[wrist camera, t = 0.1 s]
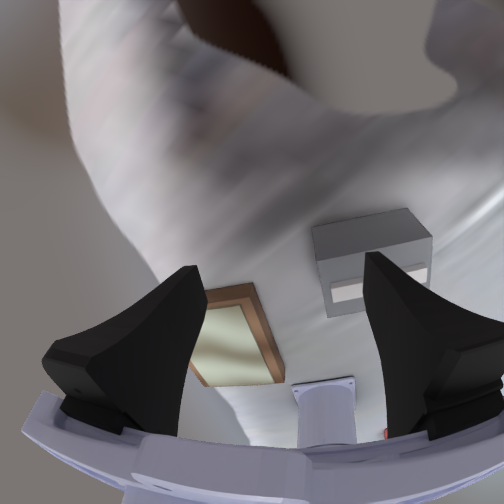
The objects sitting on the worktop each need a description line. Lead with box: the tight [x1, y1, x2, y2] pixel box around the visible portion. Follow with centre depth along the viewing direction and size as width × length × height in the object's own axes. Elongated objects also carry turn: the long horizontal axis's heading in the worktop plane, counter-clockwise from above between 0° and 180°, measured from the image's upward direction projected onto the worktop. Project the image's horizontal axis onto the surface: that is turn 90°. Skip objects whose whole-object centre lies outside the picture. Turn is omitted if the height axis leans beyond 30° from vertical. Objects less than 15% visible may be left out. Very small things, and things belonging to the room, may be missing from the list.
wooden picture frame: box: [188, 283, 285, 387], centre depth 28 cm, size 13×10×2 cm
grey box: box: [311, 208, 433, 318], centre depth 19 cm, size 5×8×6 cm, turn 107°
